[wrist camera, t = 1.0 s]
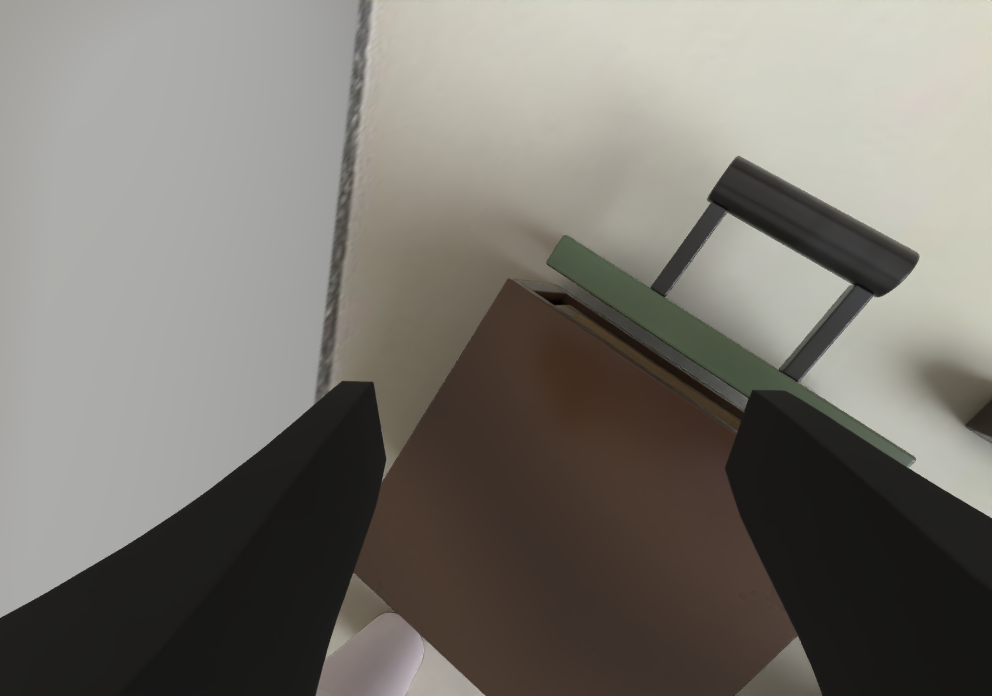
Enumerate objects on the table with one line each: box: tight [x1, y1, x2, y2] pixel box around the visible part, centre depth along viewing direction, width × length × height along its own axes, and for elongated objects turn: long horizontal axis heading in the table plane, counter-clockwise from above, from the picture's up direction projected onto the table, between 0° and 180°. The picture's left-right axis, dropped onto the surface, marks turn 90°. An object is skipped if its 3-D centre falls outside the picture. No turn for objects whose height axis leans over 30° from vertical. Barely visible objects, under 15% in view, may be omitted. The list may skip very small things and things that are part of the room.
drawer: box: [546, 156, 919, 468], centre depth 19 cm, size 18×12×6 cm
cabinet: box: [354, 278, 798, 696], centre depth 20 cm, size 14×14×8 cm
